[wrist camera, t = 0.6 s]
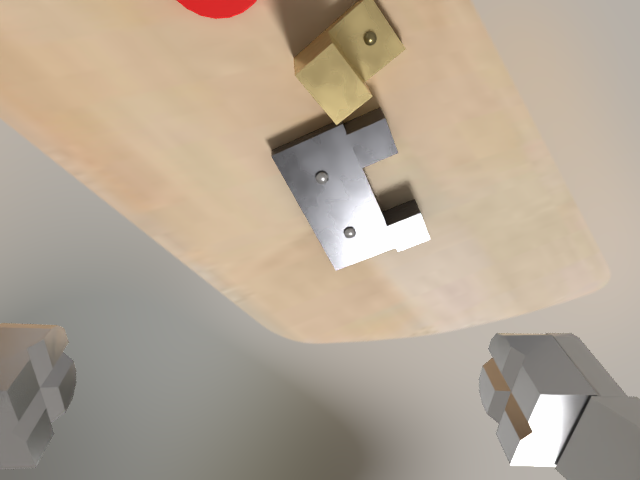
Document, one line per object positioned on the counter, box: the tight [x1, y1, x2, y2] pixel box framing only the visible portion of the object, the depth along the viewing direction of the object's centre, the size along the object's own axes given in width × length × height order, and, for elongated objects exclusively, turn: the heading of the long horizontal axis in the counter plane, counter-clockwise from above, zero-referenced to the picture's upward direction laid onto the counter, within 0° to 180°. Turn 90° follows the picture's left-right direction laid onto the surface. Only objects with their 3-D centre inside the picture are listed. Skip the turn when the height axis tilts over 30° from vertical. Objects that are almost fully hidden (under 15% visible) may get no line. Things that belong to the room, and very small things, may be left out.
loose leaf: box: [294, 0, 405, 125], centre depth 35 cm, size 5×8×5 cm, turn 129°
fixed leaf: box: [272, 108, 430, 270], centre depth 44 cm, size 15×10×3 cm
